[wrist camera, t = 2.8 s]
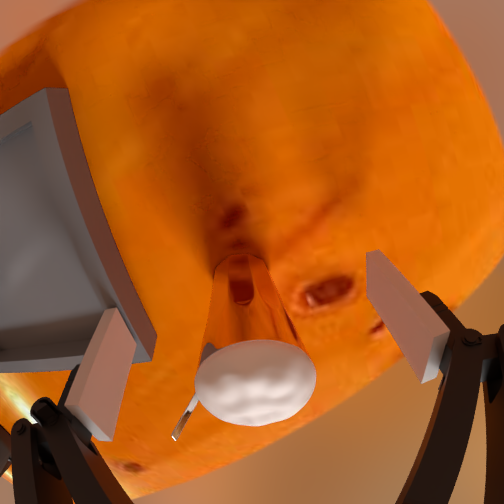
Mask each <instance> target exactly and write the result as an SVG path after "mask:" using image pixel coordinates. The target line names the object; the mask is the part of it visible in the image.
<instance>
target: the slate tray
mask: <svg viewBox="0 0 504 504" xmlns="http://www.w3.org/2000/svg"><path fill="white" fill-rule="evenodd" d="M116 307H117V309H118V311H119V313H120V315H121V317H122V319H123V320H124V322H125V324H126V326H127V328H128V330H129V332H130V333H131V335H132V337H133V339H134V341H135V342H136V344H137V346H136V349H135V353H134V356H133V360H132V363H131V364H134V363H142V362H149V361H152V358H153V353H154V348H155V343H156V339H157V334H156V332H155V330H154V328H153V326H152V324H151V322H150V320H149V318H148V316H147V314H146V312H145V310H144V308H143V306H142V303H141V301H140V299H139V297H138V295H137V293H136V290H135V288H134V286H133V284H132V282H131V279H130V277H129V275H128V272H127V270H126V268H125V265H124V263H123V261H122V258H121V256H120V253H119V251H118V248H117V246H116V243H115V241H114V238H113V236H112V233H111V231H110V228H109V225H108V223H107V220H106V217H105V215H104V212H103V209H102V206H101V204H100V201H99V198H98V195H97V192H96V189H95V186H94V183H93V180H92V177H91V174H90V171H89V167H88V164H87V161H86V157H85V154H84V151H83V147H82V144H81V140H80V137H79V133H78V129H77V125H76V121H75V117H74V113H73V109H72V105H71V101H70V96H69V92H68V88H44V89H42V90H40V91H38V92H37V93H35V94H33V95H31V96H30V97H28V98H26V99H25V100H23V101H21V102H20V103H18V104H17V105H15V106H14V107H12V108H10V109H9V110H7V111H6V112H4V113H3V114H1V115H0V373H20V372H45V371H62V370H73V369H74V367H75V366H76V365H77V364H81V362H82V359H83V357H84V355H85V352H86V350H87V348H88V346H89V343H90V341H91V339H92V337H93V334H94V332H95V330H96V328H97V326H98V324H99V321H100V319H101V317H102V315H103V313H104V311H105V310H106V309H111V308H116Z"/></svg>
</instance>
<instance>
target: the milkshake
mask: <svg viewBox="0 0 504 504" xmlns="http://www.w3.org/2000/svg"><path fill="white" fill-rule="evenodd" d="M315 383H316V371H315V367H314V364H313V362H312V360H311V358H310V356H309V354H308V352H307V350H306V348H305V346H304V344H303V342H302V340H301V338H300V336H299V334H298V332H297V330H296V328H295V326H294V324H293V322H292V321H291V319H290V317H289V315H288V313H287V311H286V309H285V306H284V304H283V302H282V299H281V297H280V295H279V293H278V290H277V288H276V286H275V283H274V281H273V279H272V277H271V275H270V273H269V271H268V269H267V267H266V265H265V263H264V261H263V260H262V259H259V258H257V257H255V256H253V255H251V254H248V253H242V254H236V255H229V256H228V257H227V258H226V259H224V260H223V261H222V262H221V263H220V264H219V265H218V266H217V267H216V269H215V275H214V281H213V288H212V294H211V301H210V307H209V313H208V319H207V324H206V328H205V332H204V336H203V341H202V346H201V351H200V356H199V362H198V367H197V372H196V377H195V391H196V392H195V394H194V396H193V397H192V399H191V401H190V403H189V404H188V406H187V408H186V410H185V411H184V413H183V415H182V417H181V418H180V420H179V422H178V424H177V425H176V427H175V429H174V431H173V433H172V435H171V436H172V437H173V439H174V440H175V441H176V440H177V438H178V437H179V435H180V433H181V431H182V429H183V428H184V426H185V424H186V422H187V420H188V419H189V417H190V415H191V413H192V411H193V410H194V408H195V406H196V404H197V402H198V401H199V400H200V402H201V403H202V405H203V406H204V407H205V408H206V409H207V410H208V411H209V412H210V413H212V414H213V415H214V416H216V417H217V418H219V419H221V420H223V421H226V422H229V423H233V424H239V425H248V426H262V425H266V424H269V423H273V422H278V421H282V420H285V419H287V418H289V417H291V416H293V415H294V414H295V413H297V412H298V411H299V410H300V409H301V408H302V407H303V406H304V405H305V404H306V403H307V402H308V400H309V399H310V397H311V395H312V393H313V391H314V388H315Z"/></svg>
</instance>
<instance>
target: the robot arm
mask: <svg viewBox="0 0 504 504" xmlns="http://www.w3.org/2000/svg"><path fill="white" fill-rule="evenodd" d="M366 273H367V297H368V299H369V300H370V302H371V303H372V305H373V306H374V308H375V310H376V311H377V313H378V314H379V316H380V317H381V319H382V320H383V322H384V323H385V325H386V327H387V328H388V330H389V331H390V333H391V335H392V336H393V338H394V339H395V341H396V343H397V344H398V346H399V347H400V349H401V351H402V352H403V354H404V356H405V357H406V359H407V361H408V362H409V364H410V366H411V367H412V369H413V371H414V372H415V374H416V375H417V377H418V379H419V381H420V382H421V384H422V383H424V382H426V381H429V380H432V379H434V378H436V377H437V373H438V371H439V369H440V370H441V372H442V373H443V378H442V380H441V383H440V386H439V388H438V390H439V392H438V395H437V399H436V403H435V406H434V409H433V412H432V415H431V418H430V422H429V425H428V427H427V430H426V433H425V436H424V439H423V442H422V444H421V447H420V449H419V452H418V454H417V457H416V459H415V462H414V464H413V467H412V469H411V471H410V474H409V476H408V478H407V480H406V483H405V485H404V487H403V489H402V491H401V493H400V495H399V497H398V499H397V501H396V503H395V504H448V502H449V499H450V497H451V494H452V492H453V489H454V486H455V483H456V480H457V477H458V474H459V471H460V468H461V465H462V462H463V458H464V455H465V452H466V448H467V444H468V440H469V436H470V432H471V428H472V424H473V419H474V414H475V410H476V404H477V399H478V393H479V387H480V382H482V383H483V391H484V403H485V416H486V439H487V440H486V441H487V442H486V444H487V457H486V458H487V459H486V483H485V496H484V504H504V324H503V325H502V326H501V327H500V329H499V331H498V333H497V334H490V335H482V334H481V333H479V332H478V331H476V330H474V329H466V328H465V327H464V326H463V325H462V323H461V322H460V321H459V320H458V319H457V318H456V317H455V315H454V314H453V313H452V312H451V311H450V310H448V307H447V306H446V305H445V304H443V302H442V301H441V300H440V298H439V297H438V296H437V295H435V294H433V293H431V292H429V291H426V292H423V293H420V294H419V293H418V291H417V290H416V289H415V288H414V287H413V286H412V285H411V284H410V282H409V281H408V280H407V279H406V278H405V277H404V276H403V275H402V274H401V272H400V271H399V270H398V269H397V268H396V267H395V266H394V265H393V264H392V263H391V262H390V260H389V259H388V258H387V257H386V256H385V255H384V254H383V253H382V252H381V251H380V250H375V251H371V252H367V253H366ZM136 346H137V344H136V342H135V341H134V339H133V337H132V335H131V333H130V332H129V330H128V328H127V326H126V324H125V322H124V320H123V319H122V317H121V315H120V313H119V311H118V309H117V307H116V308H111V309H106V310H105V311H104V313H103V315H102V317H101V319H100V321H99V324H98V326H97V328H96V330H95V332H94V334H93V337H92V339H91V341H90V343H89V346H88V348H87V350H86V352H85V355H84V357H83V359H82V362H81V364H77V365H76V366H75V367H74V369H73V370H72V371H71V373H70V375H69V378H68V381H67V382H66V385H65V388H64V390H63V392H62V395H61V397H60V400H59V402H58V405H57V406H56V405H55V404H54V402H53V401H52V400H51V399H50V398H48V397H42V398H40V399H38V400H37V401H36V402H35V403H34V404H33V406H32V407H31V411H30V415H31V416H32V417H33V418H34V419H35V420H36V421H37V422H38V423H35V424H31V423H30V422H29V421H28V420H27V419H25V418H22V419H19V420H18V421H16V422H15V423H14V425H13V427H12V430H11V436H10V435H9V434H8V433H7V432H6V431H5V430H4V429H3V428H2V427H1V426H0V477H1V476H2V475H3V473H4V472H5V471H6V470H7V469H8V468H9V466H10V465H11V464H12V477H13V489H14V497H15V504H73V500H74V502H75V504H134V503H133V502H132V501H131V499H130V498H129V496H128V495H127V494H126V492H125V491H124V490H123V488H122V487H121V485H120V484H119V482H118V481H117V479H116V478H115V477H114V475H113V474H112V472H111V470H110V469H109V467H108V466H107V464H106V463H105V461H104V459H103V458H102V456H101V455H100V453H99V451H98V450H97V448H96V446H95V444H94V443H93V442H92V441H91V436H92V435H94V436H95V437H96V438H97V439H98V440H99V441H113V436H114V432H115V427H116V423H117V418H118V414H119V410H120V406H121V402H122V398H123V394H124V390H125V386H126V382H127V378H128V374H129V371H130V367H131V363H132V360H133V356H134V353H135V349H136ZM72 498H73V500H72Z"/></svg>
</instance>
